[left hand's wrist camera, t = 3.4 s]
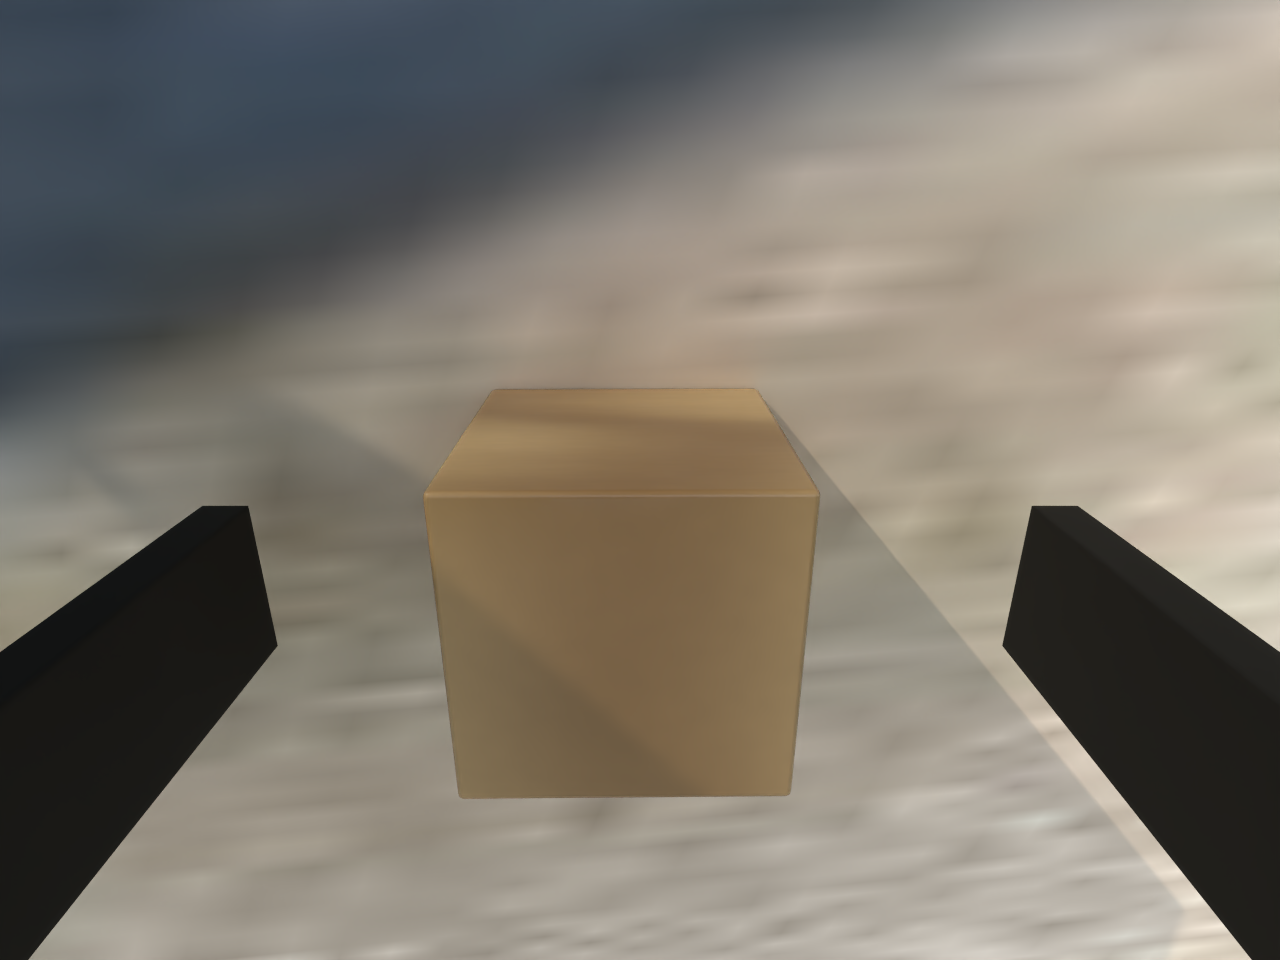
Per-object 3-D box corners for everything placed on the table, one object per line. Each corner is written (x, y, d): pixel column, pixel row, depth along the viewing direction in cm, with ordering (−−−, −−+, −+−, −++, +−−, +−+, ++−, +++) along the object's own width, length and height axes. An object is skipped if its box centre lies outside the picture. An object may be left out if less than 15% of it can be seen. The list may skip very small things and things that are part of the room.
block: (508, 618, 16) (457, 801, 11) (491, 388, 14) (420, 492, 9) (744, 616, 16) (792, 798, 11) (758, 387, 14) (821, 491, 9)
